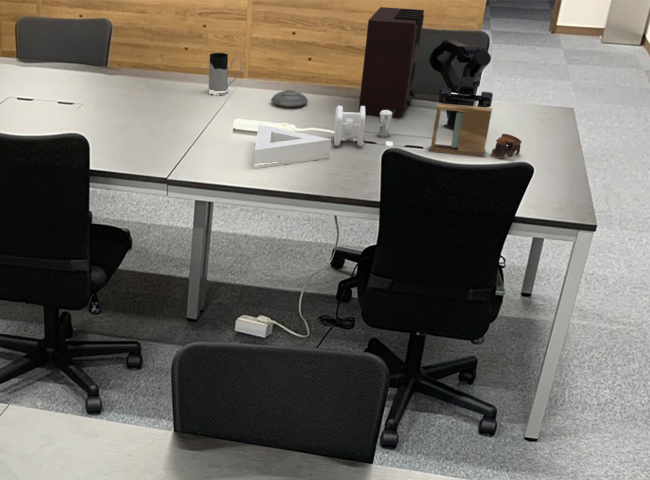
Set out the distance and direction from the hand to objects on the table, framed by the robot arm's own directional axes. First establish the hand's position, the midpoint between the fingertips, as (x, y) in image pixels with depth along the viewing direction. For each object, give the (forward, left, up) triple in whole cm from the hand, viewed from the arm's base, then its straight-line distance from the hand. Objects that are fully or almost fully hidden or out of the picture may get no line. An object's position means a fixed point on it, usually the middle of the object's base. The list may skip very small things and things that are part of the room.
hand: (460, 119), depth 353 cm
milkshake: (+17, -20, -8) cm, 28 cm away
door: (+6, +8, -6) cm, 12 cm away
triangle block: (+63, -29, -8) cm, 70 cm away
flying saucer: (+18, -73, -8) cm, 76 cm away
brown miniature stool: (-1, +22, -8) cm, 23 cm away
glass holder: (+29, -102, -8) cm, 107 cm away
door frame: (+9, +8, -8) cm, 15 cm away
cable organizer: (+34, -22, -8) cm, 41 cm away
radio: (-11, -46, -8) cm, 49 cm away
